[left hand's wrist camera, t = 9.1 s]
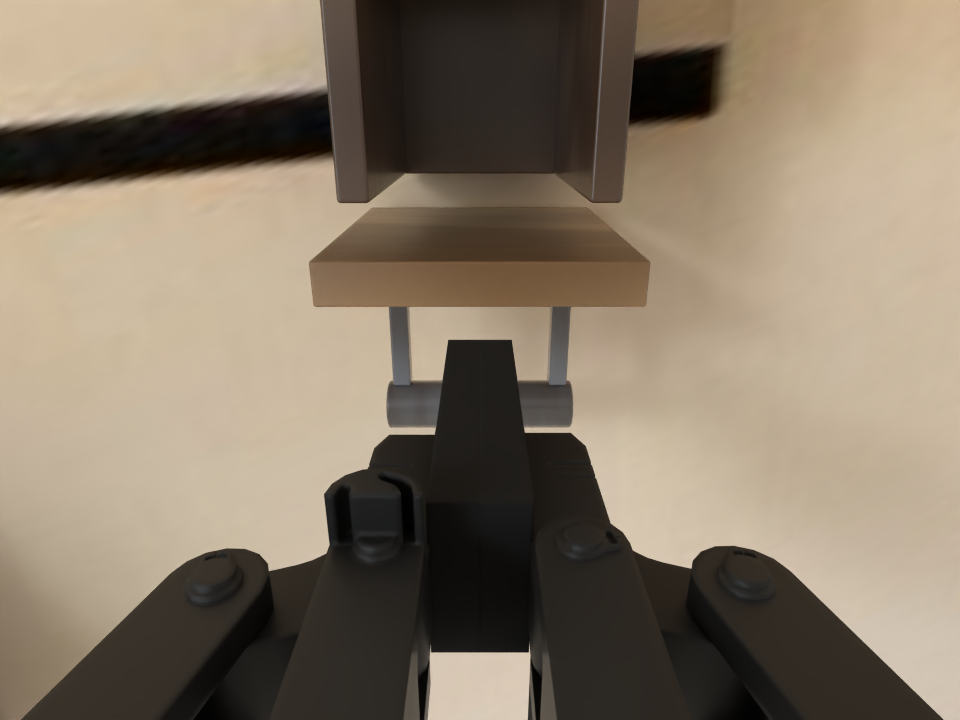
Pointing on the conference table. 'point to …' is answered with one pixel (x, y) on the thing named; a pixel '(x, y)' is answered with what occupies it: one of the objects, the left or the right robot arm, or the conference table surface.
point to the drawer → (479, 169)
